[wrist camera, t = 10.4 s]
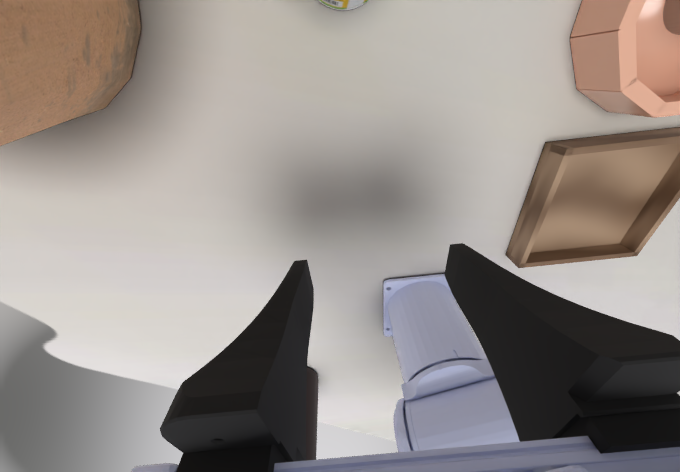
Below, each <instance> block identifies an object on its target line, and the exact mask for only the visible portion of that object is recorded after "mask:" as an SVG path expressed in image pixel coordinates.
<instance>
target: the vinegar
mask: <svg viewBox="0 0 680 472" xmlns="http://www.w3.org/2000/svg"><path fill="white" fill-rule="evenodd" d="M317 410H318V375H317V374H316V372H315V371H314V370H312V369H310V368H308V367H307V388H306V461H307V460H316V440H317Z"/></svg>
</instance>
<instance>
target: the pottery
mask: <svg viewBox="0 0 680 472" xmlns="http://www.w3.org/2000/svg"><path fill="white" fill-rule="evenodd" d="M140 31H141V25H140V17H139V9H138V1H137V0H0V146H2V145H4V144H7V143H10V142H12V141H15V140H18V139H20V138H23V137H26V136H28V135H31V134H34V133H36V132H39V131H41V130H44V129H47V128H49V127H52V126H55V125H57V124H60V123H63V122H65V121H68V120H71V119H74V118H77V117H80V116H83V115H86V114H89V113H92V112H95V111H98V110H101V109H104V108H106V106H107V105H108V104H109V103H110V102H111V101H112V99H113V98H114V97H115V96H116V95H117V93H118V92H119V91H120V90H121V89H122V88H123V86H124V85H125V84H126V83H127V82H128V81H129V79H130V78H131V73H132V69H133V64H134V59H135V55H136V50H137V45H138V41H139V36H140Z"/></svg>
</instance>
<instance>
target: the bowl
mask: <svg viewBox="0 0 680 472" xmlns="http://www.w3.org/2000/svg"><path fill="white" fill-rule="evenodd" d="M665 1H666V0H582V3H581V6H580V9H579V12H578V15H577V18H576V21H575V24H574V27H573V30H572V33H571V36H570V37H572V38H570V43H571V51H572V58H573V66H574V73H575V80H576V88H577V90H578V91H580V92H581V93H582V94H584V95H585V96H586V97H588V98H589V99H591V100H592V101H593V102H595V103H596V104H597V105H599V106H600V107H602V108H603V109H604V110H606V111H607V112H615V113H622V114H630V115H638V116H646V117H654V118H655V117H664V116H673V115H680V35H675V34H672V33H671V32H669V31H668V30H667V29H666V27H665V25H664V21H663V10H664V5H665Z"/></svg>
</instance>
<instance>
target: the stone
mask: <svg viewBox="0 0 680 472" xmlns="http://www.w3.org/2000/svg"><path fill="white" fill-rule="evenodd" d="M663 21H664V25H665V27H666V29H667V30H668V31H669V32H671V33H672V34H675V35H680V0H666V1H665V5H664V10H663Z"/></svg>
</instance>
